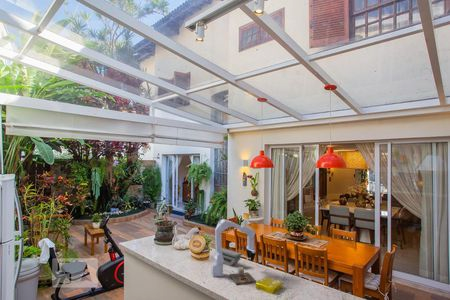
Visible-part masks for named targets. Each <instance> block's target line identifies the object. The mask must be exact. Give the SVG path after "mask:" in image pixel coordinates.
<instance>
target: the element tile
mask: <svg viewBox="0 0 450 300" xmlns="http://www.w3.org/2000/svg"><path fill="white" fill-rule="evenodd" d="M255 288H256V289H257V290H260V291H262V292H265V293H269V294H271V295H274V294H276V293H277V292H279V291H280V290H281V289H283V282H282V281H280V280H277V279H275V278H271V277H269V276H265V277H262V278H261V279H259V280H258V281H257V280H256V283H255Z"/></svg>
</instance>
